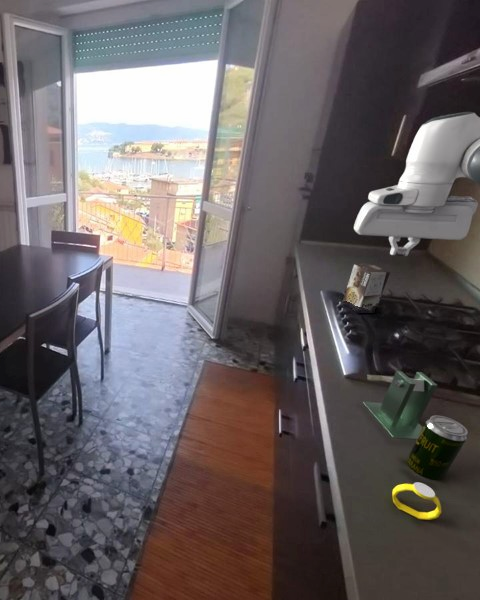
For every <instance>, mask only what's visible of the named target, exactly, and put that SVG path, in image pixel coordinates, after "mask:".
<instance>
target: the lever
mask: <svg viewBox="0 0 480 600" xmlns="http://www.w3.org/2000/svg"><path fill="white" fill-rule="evenodd" d="M393 377H394V375H380V374H366V380H367V381H371V382H386V383H390V384H391V382H392V380H393ZM409 378H410V379H411V380H412V381H413V382H414V383H415V384H416V385H415V387H414V389H413V391H419V392H424V380H420V379H414V377H409Z"/></svg>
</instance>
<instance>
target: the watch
mask: <svg viewBox="0 0 480 600" xmlns="http://www.w3.org/2000/svg"><path fill="white" fill-rule="evenodd" d="M407 491H409V492H413V493H415V494H416V495H417V496H419V497H420V498H421V499H424V500H428V501H432V502H433V503H434V505H436V508H435V509H434V510H432V511H428V512H425V511H418V510H416V509H414V508H412V507H410V506H407V505H406V504H404V503H401V502H400V500H399V499H398V498H397V495H398V494H400V493H401V492H407ZM392 501H393V502H392V503H393V504H394V505H395V507H396V508H397V509H398V510H401V511H403V512H404V513H406V514H409V515H411V516H412V517H415V518H417V519H418V520H425V521H431V520H435V519H438V518H439V517H440V515H441V514H442V505H441V502H440V499H439V497H437V496H436V493H435V491H434V490H433V488H431V487H430V486H428V484H425V483H422V482H418V481H417V482H414V483H401V484H398V485H396V486H394V488H393V489H392Z"/></svg>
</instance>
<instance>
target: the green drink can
mask: <svg viewBox="0 0 480 600" xmlns="http://www.w3.org/2000/svg"><path fill="white" fill-rule="evenodd" d="M422 427H423V429H422V431H421V433H420V435H419V437H418V439H417V440H416V439H415V440H416V441H415V442H414V444H413V446H412V449H411V450H410V452H409V454H408V456H407V458H406V465H407V466H408V467H409V469H410V470H411V471H413V472H414V473H415V474H417V475H418V476H420V477H422V478H424V479H426V480H427V479H428V480H430V481H437V482H438V481H442V480H443V479H444V478H445V476H446V474H447V473H448V472H449V469H450V468H451V467H452V465H453V463H454V461H455V459H456V457H457V456H458V454H459V453H460V452H461V449H462V447H463V446H464V444H465V443H466V441H467V439H468V433H469V432H468V429H467V428H466V426H464V425H463V424H462V423H460V422H458V421H456V420H454V419H453V418H450V417H447V416H443V415H436V414H435V415H431V416H430V417H429V418H428V419H427V420H426V421H425V423H424V425H423V426H422Z"/></svg>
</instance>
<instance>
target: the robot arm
mask: <svg viewBox="0 0 480 600" xmlns="http://www.w3.org/2000/svg"><path fill="white" fill-rule="evenodd" d="M459 178H467V179H469V180H470V181H473V182H474V183H476V184H477V185H479V186H480V117H479V116H478V115H477V114H476V113H475V112H472V111H463V112H457V113H449V114H445V115H444V114H443V115H440V116H436V117H435V116H434V117H432V118H431V119H428V120H427V121H425V122H424V123H423V124H421V126H420V127H419V129H418V131H417V132H416V134H415V136H414V138H413V141H412V143H411V146H410V148H409V150H408V154H407V156H406V159H405V168H404V171H403V173H402V175H401V176H400V178H399V180H398V182H397V184H395V185H393V186H387V187H384V188H380V189H375V190H371V191H370V192H369V193H368V195H367V196H368V197H367V200H369V201H367V202H366V203H364V204H363V205H362V207H361V208H360V210H359V212H358V214H357V216H356V219H355V221H354V224H353V230H354V232H355V233H356V234H358V235H359V236H373V237H374V236H375V237H388V241H389V244H390V246H391V247H390V251H389V255H391V256H397V257H399V256H400V257H408V255H409V253H410V251H411V250H412V249H413V248H414V247H416V246H417V245H418V244H419V243H420V242H421V239H428V240H429V239H430V240H445V241H446V240H449V241H461V240H463V239H464V238H466V237H467V236H468V233H469V231H470V228H471V224H472V221H473V215H475V213H476V211H477V209H478V206H479V203H478V201H477V199H475V198H473V196H455V195H450V192H451V190H452V188H453V185H454V182H455V180H457V179H459ZM401 238H407V241H408V242H407V243H406V244H405V245H403V246H398V243H397V242H400V241H401Z"/></svg>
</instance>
